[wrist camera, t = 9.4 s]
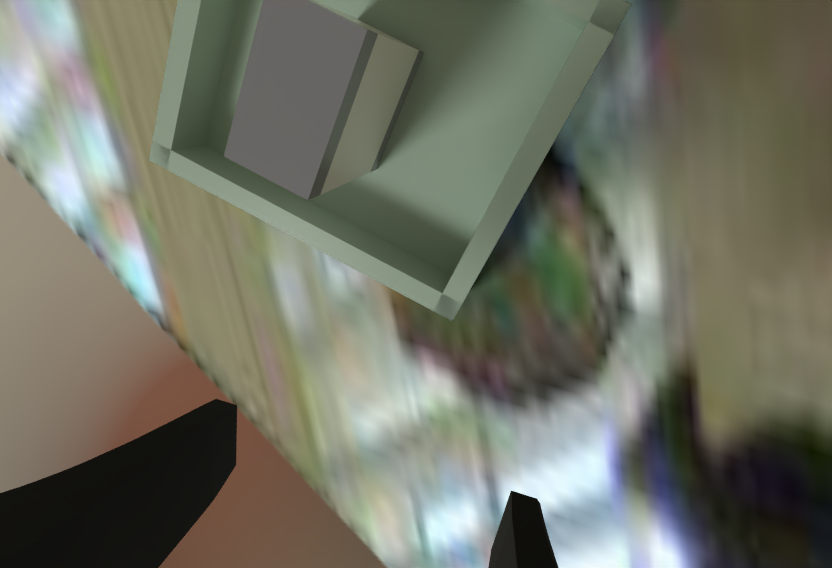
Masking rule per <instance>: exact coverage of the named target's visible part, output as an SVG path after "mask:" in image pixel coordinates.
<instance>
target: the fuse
mask: <svg viewBox="0 0 832 568" xmlns="http://www.w3.org/2000/svg"><path fill="white" fill-rule="evenodd" d="M423 55H424V52H423V51H421V50H419V49H417V48H415V47H413V46H411V45H409V44H407V43H405V42H403V41H401V40H399V39H397V38H395V37H393V36H391V35H389V34H387V33H385V32H383V31H381V30H379V29H377V28H375V27H373V26H371V25H369V24H367V23H365V22H363V21H361V20H359V19H357V18H355V17H352V16H350V15H348V14H346V13H343V12H341V11H339V10H336V9H334V8H332V7H329V6H327V5H325V4H322V3H320V2H318V1H315V0H263V2H262V6H261V10H260V14H259V18H258V22H257V26H256V30H255V34H254V38H253V42H252V46H251V50H250V54H249V58H248V62H247V66H246V70H245V74H244V78H243V82H242V86H241V90H240V94H239V98H238V101H237V105H236V109H235V113H234V117H233V121H232V125H231V129H230V133H229V137H228V141H227V145H226V149H225V153H224V157H226V158H228V159H230V160H231V161H233V162H235V163H237V164H239V165H241V166H243V167H245V168H247V169H249V170H250V171H252V172H254V173H256V174H258V175H260V176H262V177H264V178H266V179H268V180H270V181H271V182H273V183H275V184H277V185H279V186H281V187H283V188H285V189H287V190H289V191H291V192H292V193H294V194H296V195H298V196H300V197H302V198H304V199H306V200H310V199H312V198H315V197H317V196H319V195H321V194H323V193H326V192H328V191H330V190H332V189H335V188H337V187H339V186H341V185H343V184H346V183H348V182H350V181H352V180H354V179H357V178H359V177H361V176H363V175H366V174H368V173H370V172H372V171H374V170H377V168H378V165H379V163H380V160H381V158H382V155H383V153H384V151H385V148H386V146H387V143H388V141H389V138H390V136H391V133H392V131H393V128H394V126H395V123H396V121H397V119H398V116H399V114H400V111H401V109H402V106H403V104H404V101H405V99H406V96H407V94H408V91H409V89H410V87H411V84H412V82H413V79H414V77H415V74H416V72H417V69H418V67H419V64H420V62H421V59H422V57H423Z"/></svg>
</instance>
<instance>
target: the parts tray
mask: <svg viewBox="0 0 832 568" xmlns="http://www.w3.org/2000/svg"><path fill="white" fill-rule="evenodd" d="M315 1H318V2H320V3H322V4H325V5H327V6H329V7H332V8H334V9H336V10H339V11H341V12H343V13H346V14H348V15H350V16H352V17H355V18H357V19H359V20H361V21H363V22H365V23H367V24H369V25H371V26H373V27H375V28H377V29H379V30H381V31H383V32H385V33H387V34H389V35H391V36H393V37H395V38H397V39H399V40H401V41H403V42H405V43H407V44H409V45H411V46H413V47H415V48H417V49H419V50H421V51H423V52H424V55H423V57H422V59H421V62H420V64H419V67H418V69H417V72H416V74H415V77H414V79H413V82H412V84H411V87H410V89H409V91H408V94H407V96H406V99H405V101H404V104H403V106H402V109H401V111H400V114H399V116H398V119H397V121H396V123H395V126H394V128H393V131H392V133H391V136H390V138H389V141H388V143H387V146H386V148H385V151H384V153H383V155H382V158H381V160H380V163H379V165H378V168H377V170H374V171H372V172H370V173H368V174H366V175H363V176H361V177H359V178H357V179H354V180H352V181H350V182H348V183H346V184H343V185H341V186H339V187H337V188H335V189H332V190H330V191H328V192H326V193H323V194H321V195H319V196H317V197H315V198H312V199H310V200H306V199H304V198H302V197H300V196H298V195H296V194H294V193H292V192H291V191H289V190H287V189H285V188H283V187H281V186H279V185H277V184H275V183H273V182H271V181H270V180H268V179H266V178H264V177H262V176H260V175H258V174H256V173H254V172H252V171H250V170H249V169H247V168H245V167H243V166H241V165H239V164H237V163H235V162H233V161H231V160H230V159H228V158H226V157H224V153H225V149H226V145H227V141H228V137H229V133H230V129H231V125H232V121H233V117H234V113H235V109H236V105H237V101H238V98H239V94H240V90H241V86H242V82H243V78H244V74H245V70H246V66H247V62H248V58H249V54H250V50H251V46H252V42H253V38H254V34H255V30H256V26H257V22H258V18H259V14H260V10H261V6H262V2H263V0H178V2H177V8H176V13H175V19H174V24H173V30H172V35H171V41H170V46H169V52H168V57H167V63H166V68H165V74H164V79H163V85H162V90H161V96H160V101H159V107H158V112H157V118H156V123H155V129H154V134H153V140H152V145H151V151H150V156H149V160H150V161H152V162H153V163H155V164H157V165H159V166H161V167H163V168H165V169H167V170H169V171H170V172H172V173H174V174H176V175H178V176H180V177H182V178H184V179H186V180H187V181H189V182H191V183H193V184H195V185H197V186H199V187H201V188H202V189H204V190H206V191H208V192H210V193H212V194H214V195H216V196H218V197H219V198H221V199H223V200H225V201H227V202H229V203H231V204H233V205H235V206H236V207H238V208H240V209H242V210H244V211H246V212H248V213H250V214H251V215H253V216H255V217H257V218H259V219H261V220H263V221H265V222H267V223H268V224H270V225H272V226H274V227H276V228H278V229H280V230H282V231H284V232H285V233H287V234H289V235H291V236H293V237H295V238H297V239H299V240H301V241H302V242H304V243H306V244H308V245H310V246H312V247H314V248H316V249H317V250H319V251H321V252H323V253H325V254H327V255H329V256H331V257H333V258H334V259H336V260H338V261H340V262H342V263H344V264H346V265H348V266H350V267H351V268H353V269H355V270H357V271H359V272H361V273H363V274H365V275H367V276H368V277H370V278H372V279H374V280H376V281H378V282H380V283H382V284H383V285H385V286H387V287H389V288H391V289H393V290H395V291H397V292H399V293H400V294H402V295H404V296H406V297H408V298H410V299H412V300H414V301H416V302H417V303H419V304H421V305H423V306H425V307H427V308H429V309H431V310H433V311H434V312H436V313H438V314H440V315H442V316H444V317H446V318H448V319H449V320H451V321H453V319H454V317H455V315H456V314H457V312H458V310H459V308H460V307H461V305H462V303H463V301H464V300H465V298H466V296H467V294H468V292H469V291H470V289H471V287H472V285H473V284H474V282H475V280H476V278H477V277H478V275H479V273H480V271H481V270H482V268H483V266H484V264H485V262H486V261H487V259H488V257H489V255H490V254H491V252H492V250H493V248H494V247H495V245H496V243H497V241H498V240H499V238H500V236H501V234H502V232H503V231H504V229H505V227H506V225H507V224H508V222H509V220H510V218H511V217H512V215H513V213H514V211H515V210H516V208H517V206H518V204H519V202H520V201H521V199H522V197H523V195H524V194H525V192H526V190H527V188H528V187H529V185H530V183H531V181H532V180H533V178H534V176H535V174H536V172H537V171H538V169H539V167H540V165H541V164H542V162H543V160H544V158H545V157H546V155H547V153H548V151H549V150H550V148H551V146H552V144H553V142H554V141H555V139H556V137H557V135H558V134H559V132H560V130H561V128H562V127H563V125H564V123H565V121H566V120H567V118H568V116H569V114H570V112H571V111H572V109H573V107H574V105H575V104H576V102H577V100H578V98H579V97H580V95H581V93H582V91H583V89H584V88H585V86H586V84H587V82H588V81H589V79H590V77H591V75H592V74H593V72H594V70H595V68H596V67H597V65H598V63H599V61H600V59H601V58H602V56H603V54H604V52H605V51H606V49H607V47H608V45H609V44H610V42H611V40H612V38H613V37H614V35H615V33H616V31H617V29H618V28H619V26H620V24H621V22H622V21H623V19H624V17H625V15H626V14H627V12H628V10H629V8H630V7H631V5H632V4H630V3H628V2H626V1H624V0H315Z"/></svg>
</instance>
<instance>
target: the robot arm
mask: <svg viewBox="0 0 832 568" xmlns="http://www.w3.org/2000/svg"><path fill="white" fill-rule="evenodd" d="M236 434H237V405H234V404H231V403H228V402H225V401H221V400H218V399H215V400H213V401H211V402H209V403H207V404H204V405H203V406H200V407H199V408H197V409H194V410H193V411H191V412H189V413H187V414H185V415H183V416H181V417H179V418H177V419H175V420H173V421H171V422H169V423H167V424H165V425H163V426H161V427H159V428H157V429H155V430H153V431H151V432H149V433H147V434H145V435H143V436H141V437H139V438H137V439H135V440H133V441H131V442H128V443H126V444H124V445H122V446H120V447H118V448H115V449H113V450H111V451H108V452H106V453H104V454H102V455H99V456H97V457H95V458H93V459H91V460H88V461H86V462H84V463H81V464H79V465H77V466H74V467H72V468H70V469H67V470H64V471H62V472H59V473H57V474H54V475H51V476H49V477H46V478H43V479H41V480H38V481H36V482H33V483H30V484H27V485H24V486H21V487H19V488H15V489H12V490H9V491H6V492H3V493H0V568H158V567H159V566H160V565H161V564H162V562H163V561H164V560H165V559H166V558H167V556H168V555H169V554H170V552H172V550H173V549H174V548H175V547H176V546H177V544H178V543H179V542H180V541H181V539H182V538H183V537H184V536H185V535H186V533H187V532H188V531H189V530H190V528H191V527H192V526H193V525H194V523H195V522H196V521H197V520H198V519H199V517H200V516H201V515H202V514H203V513H204V511H205V510H206V509H207V507H208V506H209V505H210V504H211V503H212V501H213V500H214V498H215V497H216V495H217V494H218V492H219V491H220V489H221V488H222V486H223V485H224V483H225V482H226V480H227V478H228V477H229V475H230V473H231V472H232V470H233V469H234V467H235V465H236ZM489 568H558V565H557V562H556V559H555V556H554V553H553V549H552V546H551V543H550V540H549V536H548V533H547V529H546V526H545V522H544V518H543V514H542V510H541V506H540V503H539V501H538V500H537V499H536V498H533V497H530V496H526V495H523V494H520V493H517V492H513V491H511V493H510V496H509V499H508V502H507V505H506V508H505V511H504V514H503V517H502V520H501V523H500V526H499V529H498V531H497V534H496V537H495V540H494V543H493V546H492V549H491V556H490V562H489Z"/></svg>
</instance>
